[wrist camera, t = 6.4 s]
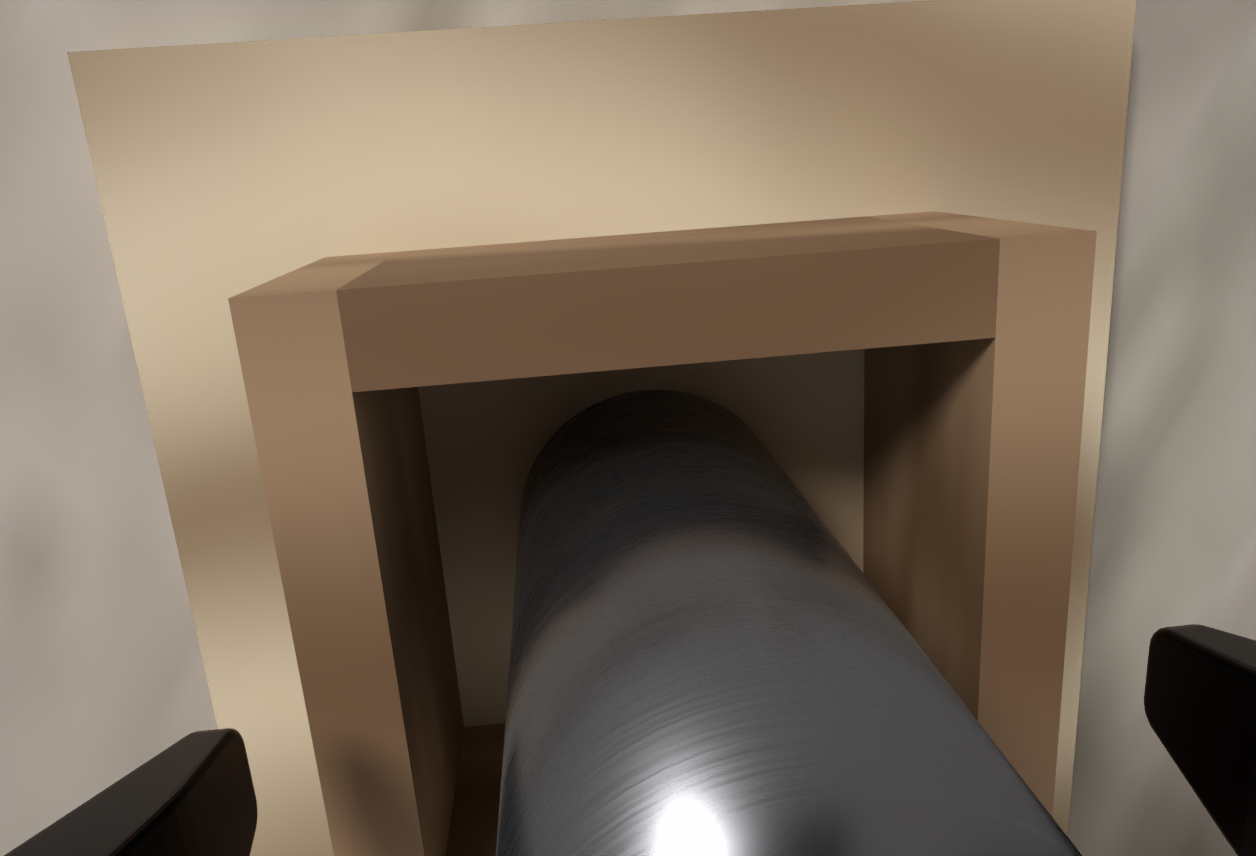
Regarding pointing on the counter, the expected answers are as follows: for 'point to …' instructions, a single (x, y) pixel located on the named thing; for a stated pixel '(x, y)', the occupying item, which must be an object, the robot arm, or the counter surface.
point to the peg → (723, 667)
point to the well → (607, 346)
